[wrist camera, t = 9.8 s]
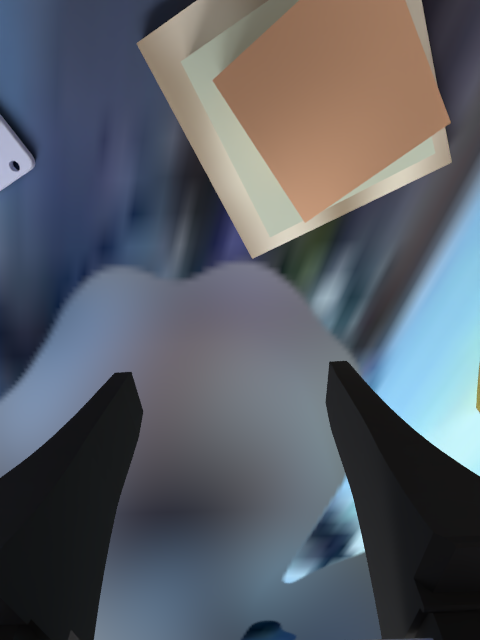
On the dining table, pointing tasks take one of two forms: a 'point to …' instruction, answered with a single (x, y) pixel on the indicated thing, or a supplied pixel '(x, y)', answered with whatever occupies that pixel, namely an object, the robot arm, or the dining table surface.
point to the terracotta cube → (334, 96)
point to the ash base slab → (165, 63)
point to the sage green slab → (235, 140)
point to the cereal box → (478, 392)
